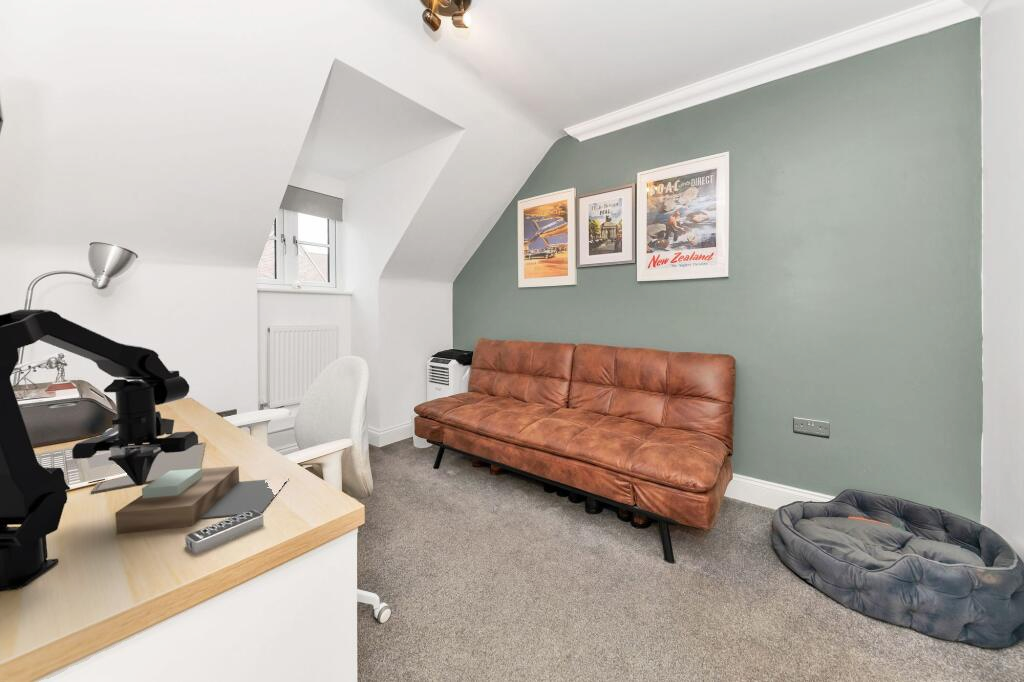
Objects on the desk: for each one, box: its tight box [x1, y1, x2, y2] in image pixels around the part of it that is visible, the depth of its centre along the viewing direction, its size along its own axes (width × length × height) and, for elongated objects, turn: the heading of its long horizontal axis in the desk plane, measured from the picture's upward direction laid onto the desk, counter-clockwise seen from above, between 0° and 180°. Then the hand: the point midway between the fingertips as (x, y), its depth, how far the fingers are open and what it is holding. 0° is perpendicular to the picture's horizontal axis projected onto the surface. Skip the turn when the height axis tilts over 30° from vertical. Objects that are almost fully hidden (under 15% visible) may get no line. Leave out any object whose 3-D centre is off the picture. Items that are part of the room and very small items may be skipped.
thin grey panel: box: [90, 441, 207, 495], centre depth 105 cm, size 19×1×28 cm
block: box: [141, 467, 203, 498], centre depth 82 cm, size 9×6×2 cm, turn 13°
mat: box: [199, 479, 276, 520], centre depth 87 cm, size 17×11×1 cm, turn 13°
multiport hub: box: [184, 510, 265, 554], centre depth 72 cm, size 4×11×2 cm, turn 149°
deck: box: [114, 465, 240, 535], centre depth 83 cm, size 20×12×4 cm, turn 13°
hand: (141, 484), depth 81 cm, fingers closed
